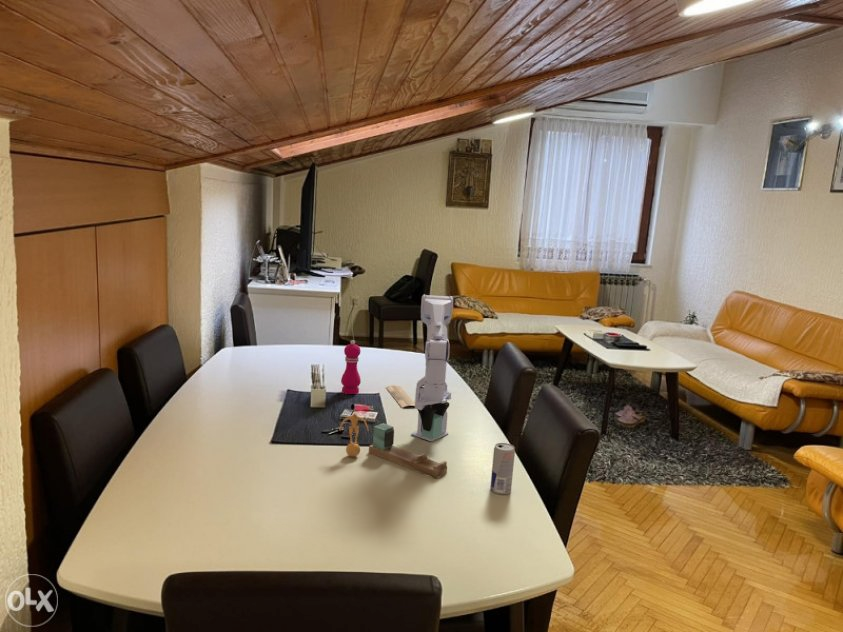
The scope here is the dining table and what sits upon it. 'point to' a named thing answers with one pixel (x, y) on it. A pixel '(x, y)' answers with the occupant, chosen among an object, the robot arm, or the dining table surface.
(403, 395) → the tan flat bar
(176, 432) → the dining table surface
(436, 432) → the block
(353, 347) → the pepper mill
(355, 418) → the figurine
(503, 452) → the energy drink
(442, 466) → the rail
